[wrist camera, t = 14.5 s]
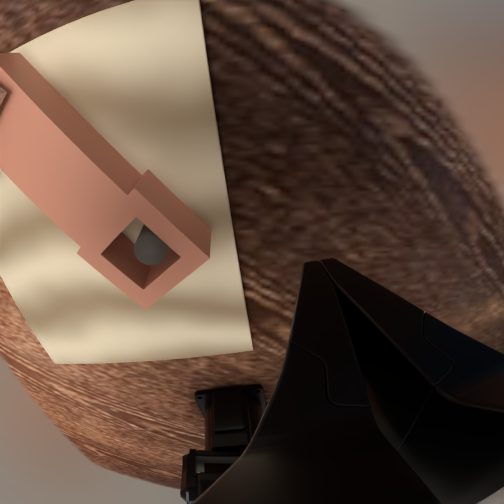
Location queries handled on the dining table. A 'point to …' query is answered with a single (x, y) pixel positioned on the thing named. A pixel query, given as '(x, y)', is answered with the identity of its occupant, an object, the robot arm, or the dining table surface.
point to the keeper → (2, 94)
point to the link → (92, 187)
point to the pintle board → (141, 158)
